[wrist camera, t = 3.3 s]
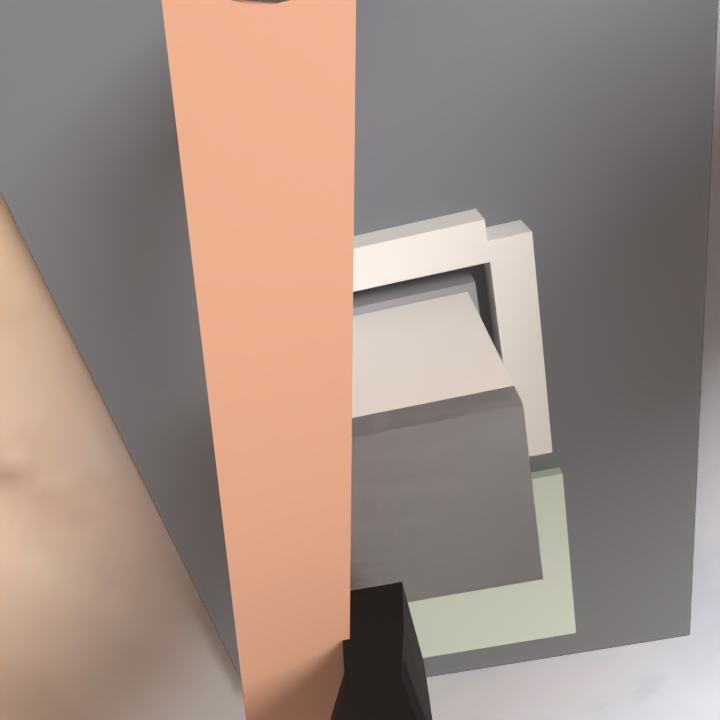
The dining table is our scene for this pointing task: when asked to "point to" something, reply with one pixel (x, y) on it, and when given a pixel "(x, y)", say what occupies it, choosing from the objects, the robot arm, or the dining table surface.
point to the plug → (436, 446)
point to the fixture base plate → (421, 270)
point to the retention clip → (275, 320)
